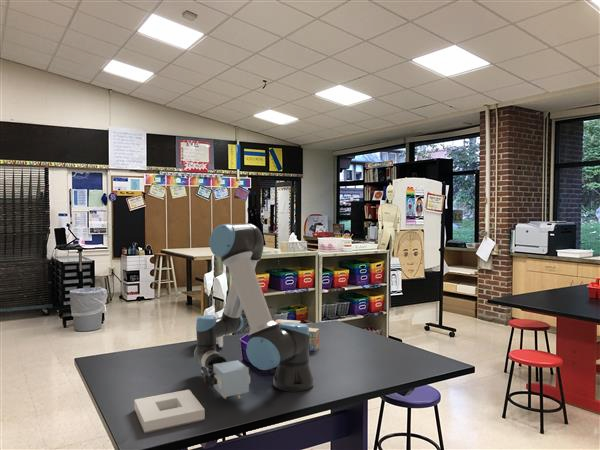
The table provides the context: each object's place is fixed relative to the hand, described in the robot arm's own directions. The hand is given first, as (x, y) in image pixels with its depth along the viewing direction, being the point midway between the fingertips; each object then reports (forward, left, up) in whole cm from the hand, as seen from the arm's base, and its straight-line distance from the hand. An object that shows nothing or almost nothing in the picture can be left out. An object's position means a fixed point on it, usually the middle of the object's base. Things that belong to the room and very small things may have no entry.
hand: (235, 382), depth 153 cm
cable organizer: (+54, -47, -9) cm, 72 cm away
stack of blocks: (+18, -67, -9) cm, 70 cm away
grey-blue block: (+4, -2, -7) cm, 8 cm away
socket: (+14, +16, -8) cm, 23 cm away
